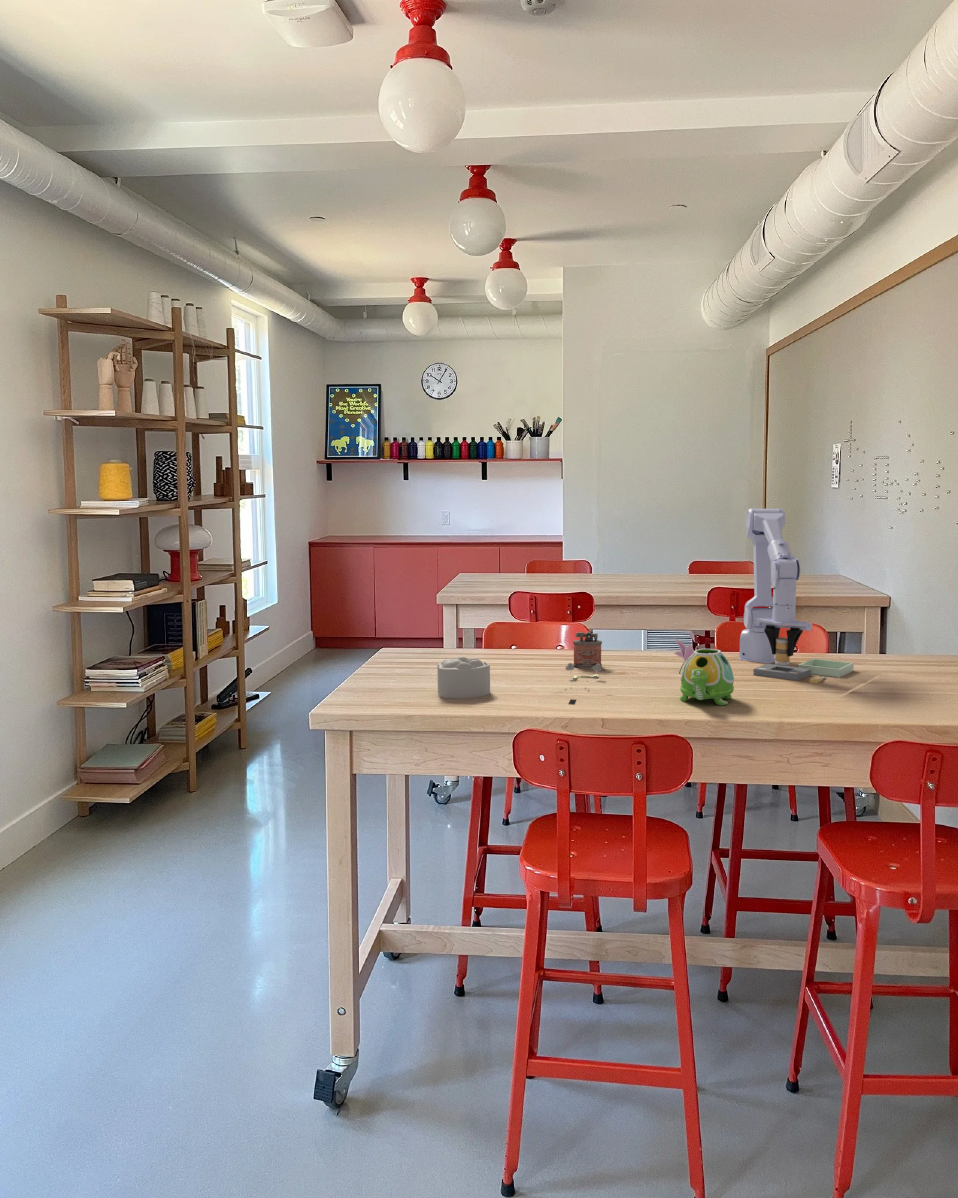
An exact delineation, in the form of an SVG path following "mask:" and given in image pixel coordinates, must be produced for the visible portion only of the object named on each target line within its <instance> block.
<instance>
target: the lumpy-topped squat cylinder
mask: <svg viewBox="0 0 958 1198" xmlns="http://www.w3.org/2000/svg"><path fill="white" fill-rule="evenodd" d="M436 667H437V693H438V697H439V698H443V699H471V698H479V697H484V696H487V695H489V694H491V665H490V664H489V663H487V662H486V661H484V662H483V661H482V660H481V659H479V658H476V657H470V658H467V657H466V656H462V655H461V656H457V657H456V658H445V659H444V660H442V661H441V662H439V663H437V666H436Z"/></svg>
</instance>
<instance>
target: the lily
mask: <svg viewBox="0 0 958 1198" xmlns="http://www.w3.org/2000/svg"><path fill="white" fill-rule="evenodd" d="M674 640H675V642H676V644H677V645H678V647H679V649H680V650H679V651H675V652H674V654H675V655H676V656H678V657H680V658H682V659H683V663H682V664H681V667H680V669H679V671H678V674H681V673H682V670H683V667H684V665H685V663H686V661H687V660H688V658H689V657H690V656H691V655H692V654H694V651H695V650H694V648H693V646H692V645H691V644H687V646H686V644H685V643H683V642H682V641H681V640H679V639H677V638H674Z"/></svg>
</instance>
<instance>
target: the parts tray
mask: <svg viewBox="0 0 958 1198" xmlns="http://www.w3.org/2000/svg"><path fill="white" fill-rule="evenodd" d="M854 665H855V663H854V662H848V661H847V662H846V661H839V660H838V661H837V660H830V659H821V658H814V657H813V658H812V659H811V658H810V659H809V660H805V661H804V662H801V663H798V666H797V667H798V668H806V669H811V675H817V676H821V677H831V678H838V679H840V678H841V677H843V676H846V675H848V674H849V673H852V672H854V669H855V668H854V667H855V666H854Z"/></svg>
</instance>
